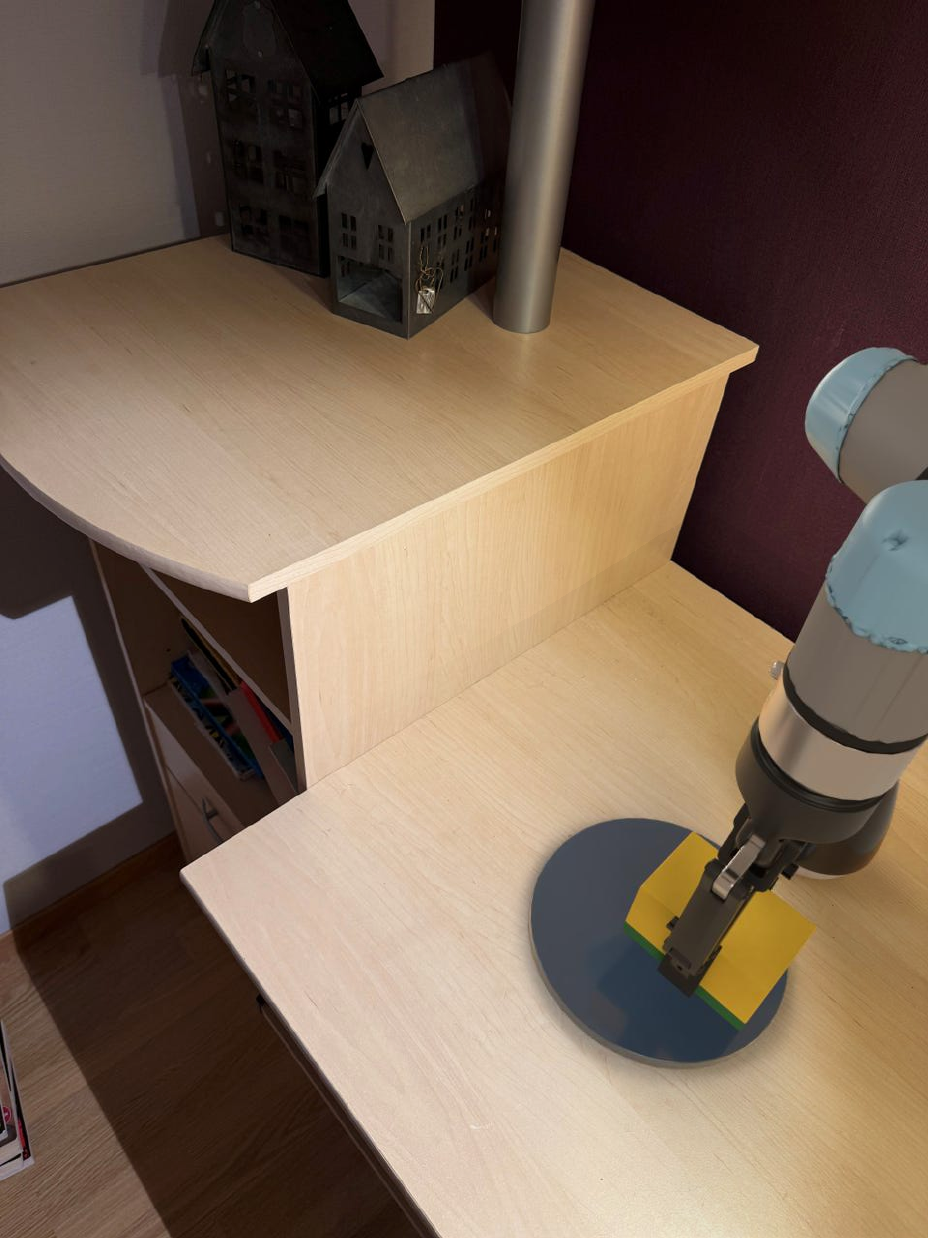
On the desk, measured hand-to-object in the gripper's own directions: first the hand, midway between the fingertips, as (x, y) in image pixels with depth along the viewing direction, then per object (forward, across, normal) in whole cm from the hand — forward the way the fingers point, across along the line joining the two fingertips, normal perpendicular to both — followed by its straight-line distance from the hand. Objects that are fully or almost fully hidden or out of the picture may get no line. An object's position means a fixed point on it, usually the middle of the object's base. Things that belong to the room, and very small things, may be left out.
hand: (704, 946), depth 65 cm
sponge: (0, 0, 0) cm, 0 cm away
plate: (+6, -1, -4) cm, 7 cm away
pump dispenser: (+6, -18, 0) cm, 19 cm away
